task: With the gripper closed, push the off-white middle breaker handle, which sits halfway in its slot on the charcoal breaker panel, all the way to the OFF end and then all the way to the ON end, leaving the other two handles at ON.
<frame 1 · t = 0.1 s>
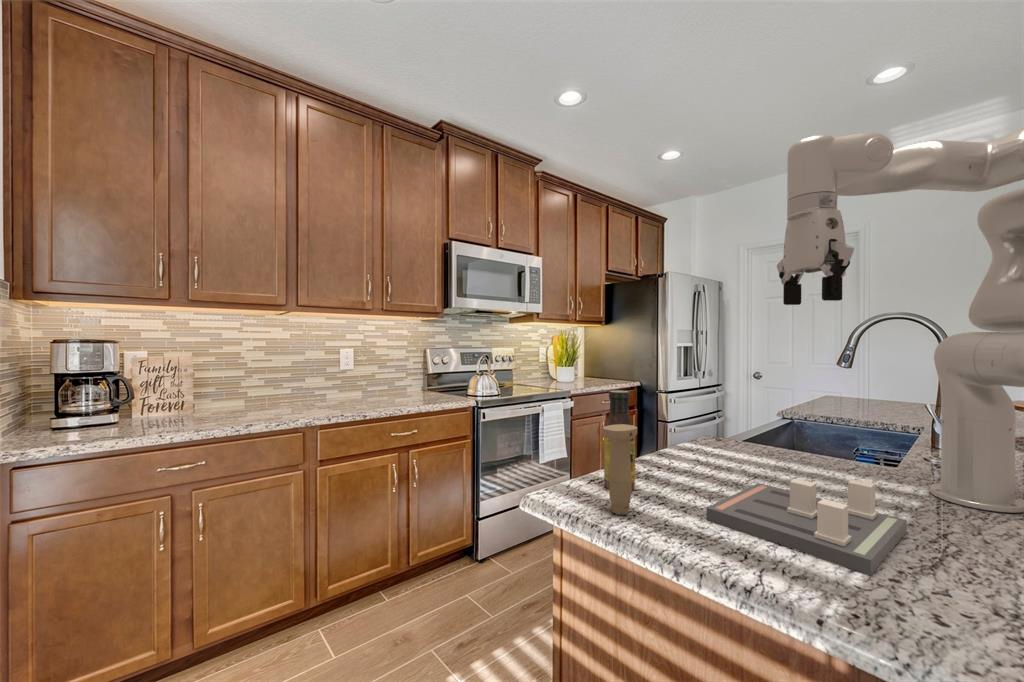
hand: (810, 302, 79), 37 cm above the countertop, tool pointing down, fingers open, 9 cm apart
handle: (620, 513, 77), on the countertop
breaker panel: (802, 525, 71), on the countertop
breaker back: (861, 498, 70), point 5 cm above the countertop, slide at 12.0 cm
tripped breaker: (802, 497, 71), point 5 cm above the countertop, slide at 6.0 cm
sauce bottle: (619, 488, 89), on the countertop
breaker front: (832, 521, 62), point 5 cm above the countertop, slide at 12.0 cm
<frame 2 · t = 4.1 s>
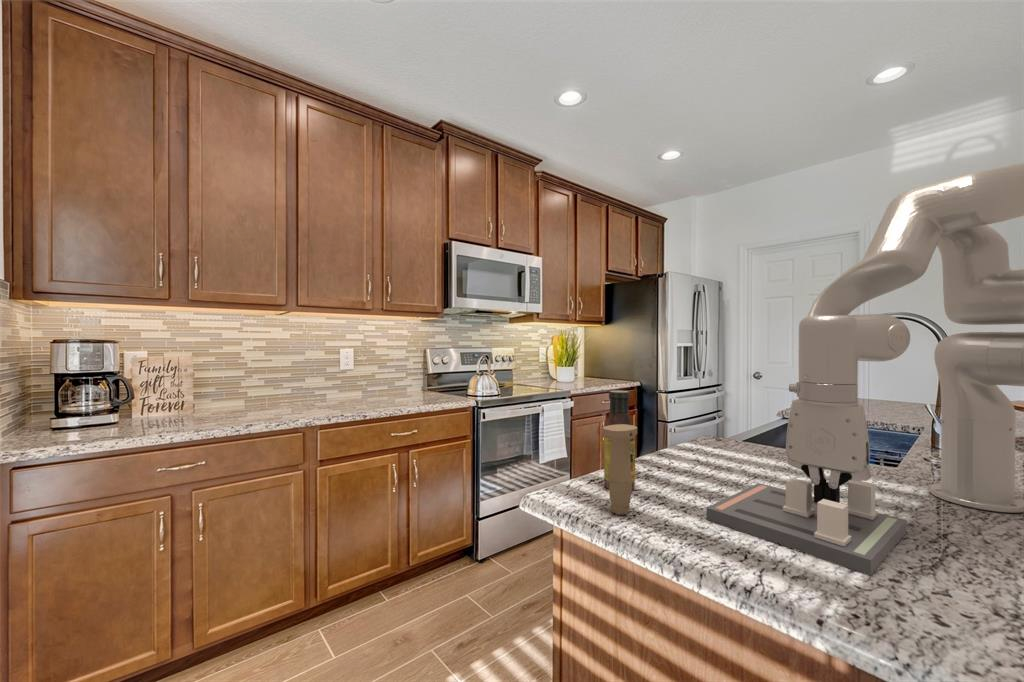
hand: (826, 509, 68), 4 cm above the countertop, tool pointing down, fingers closed
tripped breaker: (798, 496, 71), point 5 cm above the countertop, slide at 5.4 cm, touching gripper
everything else where it was.
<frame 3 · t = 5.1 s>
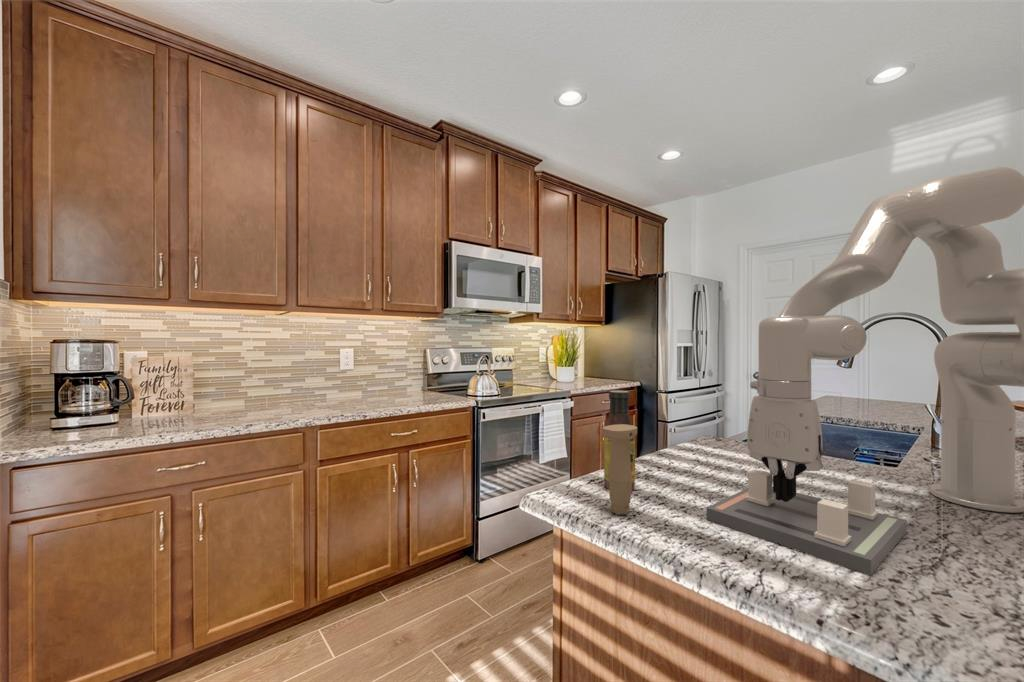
hand: (784, 498, 73), 4 cm above the countertop, tool pointing down, fingers closed
tripped breaker: (760, 486, 76), point 5 cm above the countertop, slide at -0.6 cm, touching gripper
everything else where it was.
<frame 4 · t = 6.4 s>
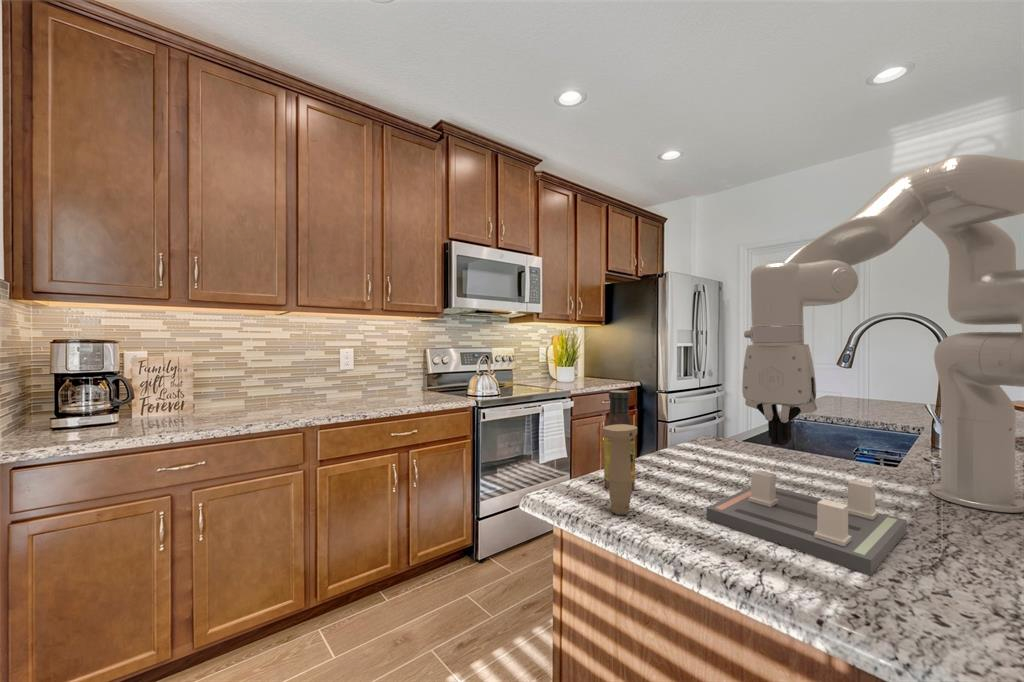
hand: (780, 443, 74), 13 cm above the countertop, tool pointing down, fingers closed
tripped breaker: (763, 487, 76), point 5 cm above the countertop, slide at -0.1 cm
everything else where it was.
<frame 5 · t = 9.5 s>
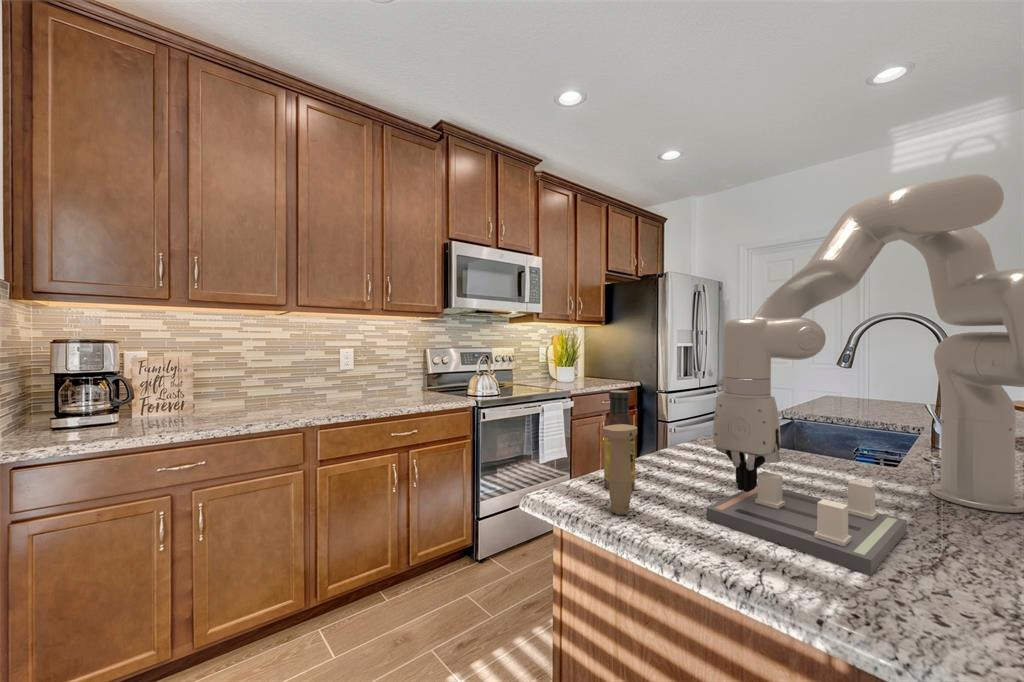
hand: (746, 489, 78), 4 cm above the countertop, tool pointing down, fingers closed
tripped breaker: (769, 489, 75), point 5 cm above the countertop, slide at 1.0 cm, touching gripper
everything else where it was.
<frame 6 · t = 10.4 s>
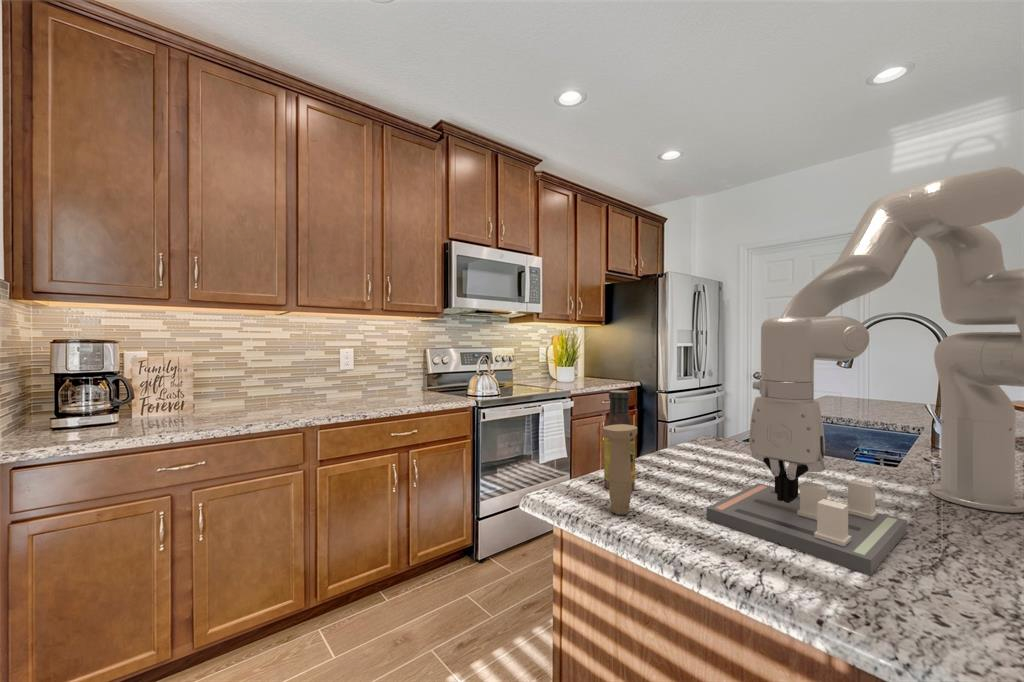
hand: (786, 499, 73), 4 cm above the countertop, tool pointing down, fingers closed
tripped breaker: (813, 500, 70), point 5 cm above the countertop, slide at 7.5 cm, touching gripper
everything else where it was.
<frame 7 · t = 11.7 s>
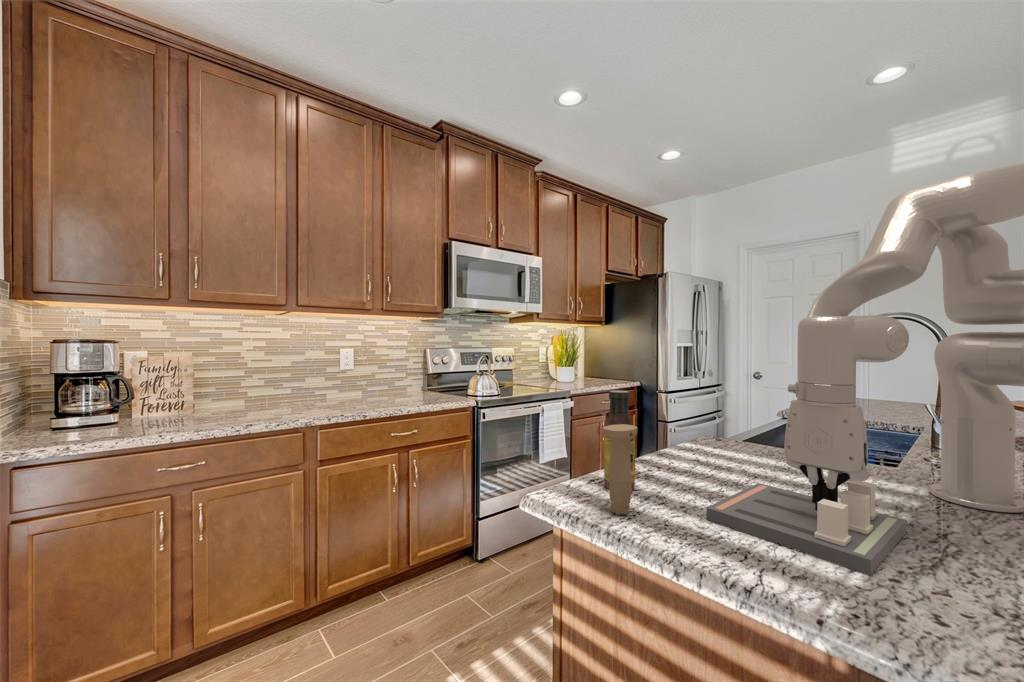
hand: (824, 509, 68), 4 cm above the countertop, tool pointing down, fingers closed
tripped breaker: (855, 511, 65), point 5 cm above the countertop, slide at 12.9 cm, touching gripper
everything else where it was.
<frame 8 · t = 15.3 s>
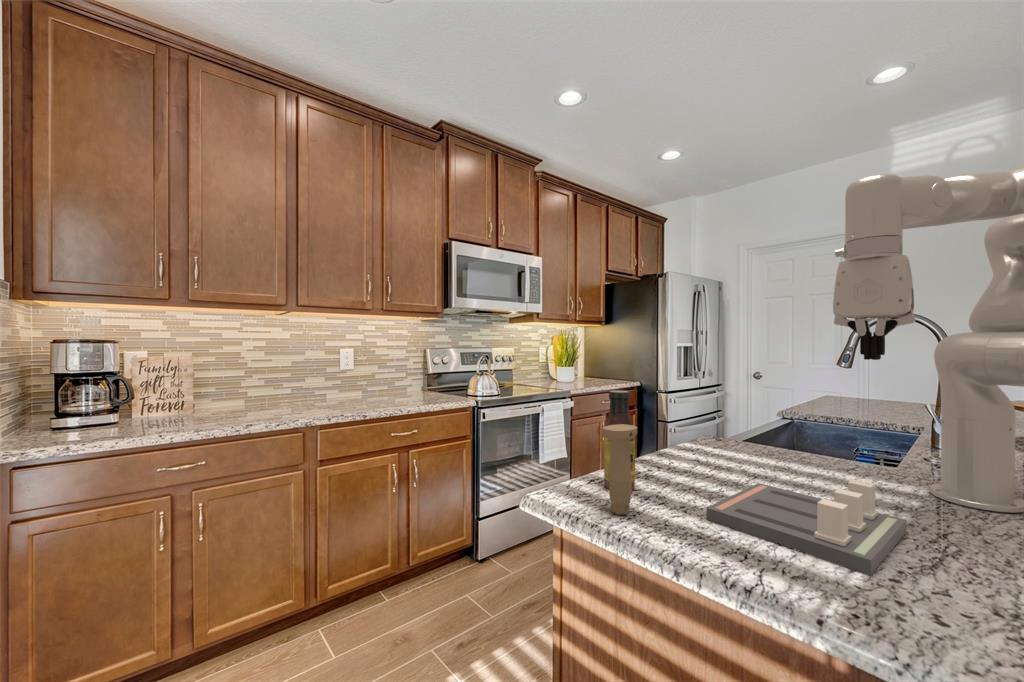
hand: (872, 359, 74), 27 cm above the countertop, tool pointing down, fingers closed
tripped breaker: (848, 509, 66), point 5 cm above the countertop, slide at 12.1 cm
everything else where it was.
at the end: tripped breaker slide at 12.1 cm; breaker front slide at 12.0 cm; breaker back slide at 12.0 cm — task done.
